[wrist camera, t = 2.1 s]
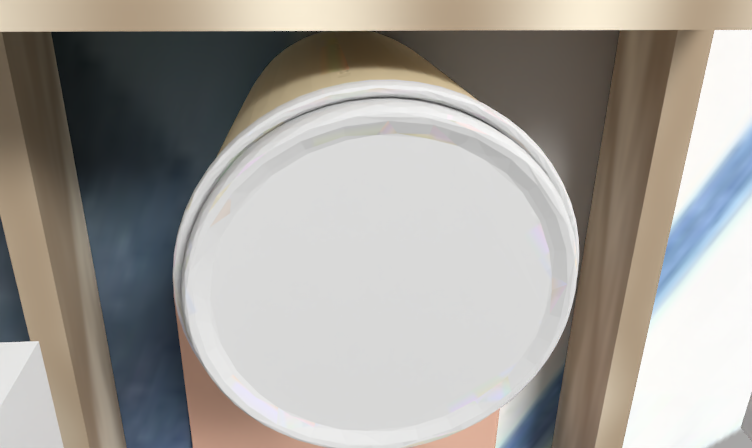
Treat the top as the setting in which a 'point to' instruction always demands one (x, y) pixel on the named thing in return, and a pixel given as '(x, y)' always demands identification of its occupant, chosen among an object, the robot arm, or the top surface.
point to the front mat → (260, 443)
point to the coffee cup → (373, 250)
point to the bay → (365, 13)
